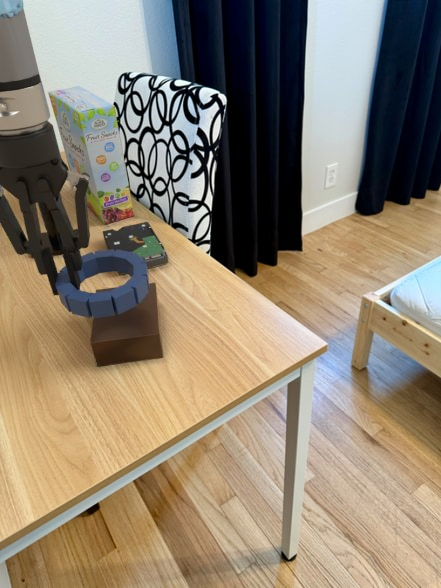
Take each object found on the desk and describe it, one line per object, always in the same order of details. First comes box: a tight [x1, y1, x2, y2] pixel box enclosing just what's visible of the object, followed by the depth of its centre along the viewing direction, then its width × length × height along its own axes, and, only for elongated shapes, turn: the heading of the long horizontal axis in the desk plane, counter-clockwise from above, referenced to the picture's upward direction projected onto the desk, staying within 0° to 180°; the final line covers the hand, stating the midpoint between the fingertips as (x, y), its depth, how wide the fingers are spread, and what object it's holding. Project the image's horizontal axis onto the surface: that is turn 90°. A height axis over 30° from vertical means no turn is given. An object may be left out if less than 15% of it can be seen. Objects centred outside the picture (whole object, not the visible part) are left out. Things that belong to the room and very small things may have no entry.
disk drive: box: [102, 221, 169, 276], centre depth 89 cm, size 10×3×15 cm
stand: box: [89, 282, 164, 367], centre depth 69 cm, size 10×13×5 cm
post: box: [30, 202, 79, 259], centre depth 90 cm, size 9×9×13 cm
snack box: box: [47, 85, 136, 225], centre depth 101 cm, size 22×9×26 cm, turn 33°
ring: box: [55, 249, 150, 319], centre depth 64 cm, size 13×13×3 cm
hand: (67, 288), depth 63 cm, fingers closed on ring, 2 cm apart
